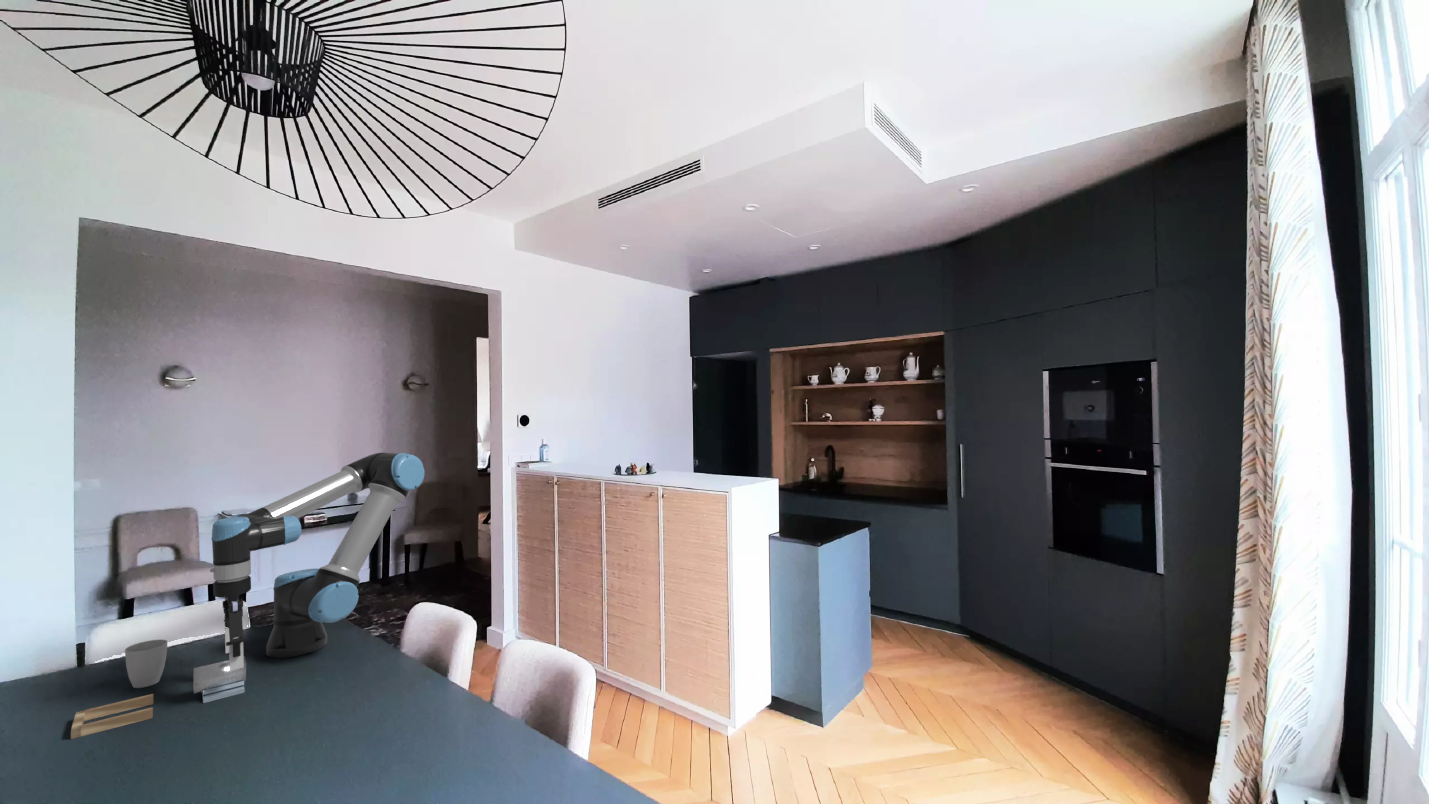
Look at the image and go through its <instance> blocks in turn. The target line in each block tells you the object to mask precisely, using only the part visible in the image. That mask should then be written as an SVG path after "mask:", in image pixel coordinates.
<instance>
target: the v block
mask: <svg viewBox="0 0 1429 804" xmlns="http://www.w3.org/2000/svg"><path fill="white" fill-rule="evenodd" d="M245 689H246V688H245V681H240V682H236V683H232V684H228V685H224V686H220V687H216V688H211V689H207V690H203V691H202V692H201V697H202V703H203V704H206V703H209V702H213V701H216V700H217V701H218V700H220V699H224V698H228V697H232V696H236V695H240V694H244V693H246V692H245Z"/></svg>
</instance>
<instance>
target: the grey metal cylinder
mask: <svg viewBox="0 0 1429 804" xmlns="http://www.w3.org/2000/svg"><path fill="white" fill-rule="evenodd" d="M243 658H244V667H243V668H239V669H235V670H231V671H230V665H229V659H228V660H224V661H223V660H222V661H220V662H216V663H211V664H205V665H201V666H198V667H194V668H193V675H192V676H193V678H192V679H193V685H192V686H193V694H197V693H202V691H203V690H207V689H211V688H216V687H220V686H224V685H228V684H232V683H236V682H240V681H244V682H246V680H247V660H246V657H245V656H243Z"/></svg>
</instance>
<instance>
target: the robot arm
mask: <svg viewBox="0 0 1429 804" xmlns="http://www.w3.org/2000/svg"><path fill="white" fill-rule="evenodd" d="M425 473H426V471H425V468H424V464H423V462H422V460H421V459H420V458H419V457H418V456H416V455H414V454H409V453H404V452H401V453H395V452H376V453H373V454H369V455H367V456H365V457H362V458H359V459H358V460H355V461H353V462H350V463H348V464H347V465H344V466H342V467H341V469H340V471H339V472H337V473H334V474H332V475H330V476H328V477H326V478H324V479H322V480H319V481H317V482H314V483H313V484H311V485H308V486H306V487H304V488H302V489H300V490H298V491H295V492H293V493H291V494H289V495H287V496H284V497H282V498H280V499H278V500H276V501H273V502H272V503H269V504H267V505H265V506H262V507H260V508H258V509H256V510H253V511H250V512H249V513H247V512H245V513H238V514H235V515H232V516H231V517H225V518H220V519H218V520H215V521H214V522H213V523H212V530H211V541H212V542H211V545H212V560H213V561H212V565H213V566H212V568H210V569H209V572H210V573H212V574H213V581H214V582H213V583H212V584H213V585H212V586H213V589H212V590H213V596H214V597H215V598H221V599H222V598H224V600H222V608H223V614H224V619H223V622H224V627H225V628H224V645H225V647H224V649H225V651H224V652H225V654H229V655H228V656H229V659H228V660H229V665H230V671H231V670H235V669H239V668H243V667H244V658H243V657H244V641H245V638H244V628H243V627H244V626H243V617H244V610H243V608H244V600H243V597H240V596H241V595H243V594H246V593H248V592H250V591H251V590H252V577H251V576H250V575H251V574H252V569H251V568H252V561H251V560H252V559H251V552H254V551H259V550H264V549H268V548H272V547H278V546H282V545H284V546H285V545H287V544H291V543H294V542H296V541H297V540H299V539H300V537H301V535H302V524H301V522H300V518H302V517H304V516H305V515H308V514H310V513H312V512H315V511H317V510H319V509H320V508H323V507H324V506H326V505H329V504H330V503H333V502H335V501H337V500H338V499H340V498H343V497H345V496H347V495H349V494H351V493H359V492H360V493H361V492H363V491H365V490H367V489H369V494H368V496H367V497H366V498H365V501H364V502H363V504H362V505H361V507H360V509H359V510H358V513H357V514H356V516H355V517H354V520H353V521H352V523H351V525H350V526H349V528H348V530H347V531H346V533H345V535H344V536H343V538H342V540H341V542H340V544H339V545H338V547H337V548H336V551H335V552H334V554H333V555H332V558H331V559H330V561H329V562H328V564H326V565H323V566H321V567H319V568H307V569H306V568H305V569H301V570H295V571H290V572H286V573H283V574H281V575H278V576H277V577H276V578H275V579H274V583H273V588H272V589H273V628H272V630H271V632H270V635H269V637H268V641H267V643H266V647H265V655H266V656H267V657H270V658H274V659H275V658H277V659H280V658H281V659H284V658H285V659H286V658H292V657H298V656H302V655H306V654H309V653H310V654H311V653H313V652H315V651H318V650H320V649H322V648H323V647H325V646H326V645H327V644H328V634H327V632H326V629H325V625H324V623H328V624H329V623H335V622H339V621H341V620H343V619H345V618H346V617H348V616H349V615H350V614H352V613H353V611H354V609H356V606H357V604H358V602H359V597H360V596H359V590H358V588H357V587H358V586H359V584H360V582H361V579H360V577H359V573H360V571H361V569H362V568H363V566H364V564H365V562H366V560H367V558H368V557H369V555H370V553H371V551H372V549H373V547H374V545H375V544H376V542H377V540H378V538H379V536H380V535H381V533H382V531H383V530H384V527H385V526H386V524H387V522H388V520H389V518H390V516H391V515H392V513H393V512H394V510H395V507H396V506H397V504H398V503H399V502H403V501H404V500H405V499H406V498H407V496H408V493H409V492H410V491H414V490H415V489H417V488H419V487H420V486H421V485H422V484H423V481H424V480H425V479H424V478H425Z"/></svg>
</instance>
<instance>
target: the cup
mask: <svg viewBox="0 0 1429 804" xmlns="http://www.w3.org/2000/svg"><path fill="white" fill-rule="evenodd" d="M167 651H168V640H167V639H152V640H147V641H141V642H138V643H134V644H132V645H129V646H128V647H126V648H125V650H124V652H125V653H124V654H125V655H124V657H125V666H126V671H127V676H128V679H129V681H130V683H131V685H132V687H133V689H143V688H147V687H151V686H153V685H156V684H157V683H159V682H160V680H161V677H162V675H163V672H164V669H165V665H166V660H167V654H168V653H167Z"/></svg>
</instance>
